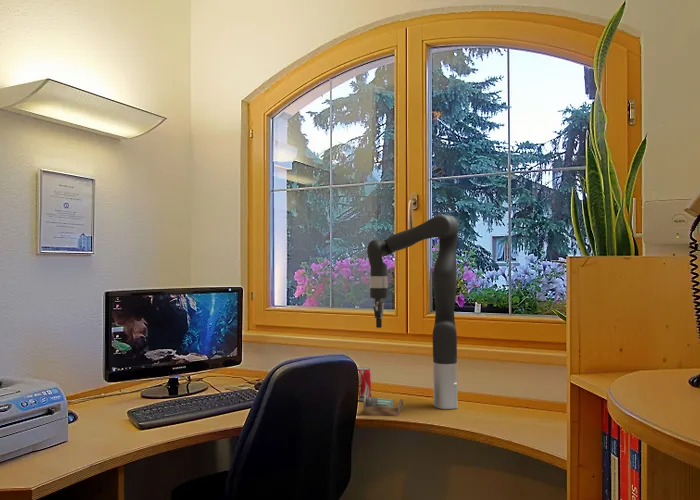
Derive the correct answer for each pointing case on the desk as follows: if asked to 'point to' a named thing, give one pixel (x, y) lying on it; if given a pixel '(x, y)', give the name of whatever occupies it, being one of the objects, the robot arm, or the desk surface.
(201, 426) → the desk surface
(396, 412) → the bay
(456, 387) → the robot arm
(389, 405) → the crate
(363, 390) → the soda can
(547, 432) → the desk surface
